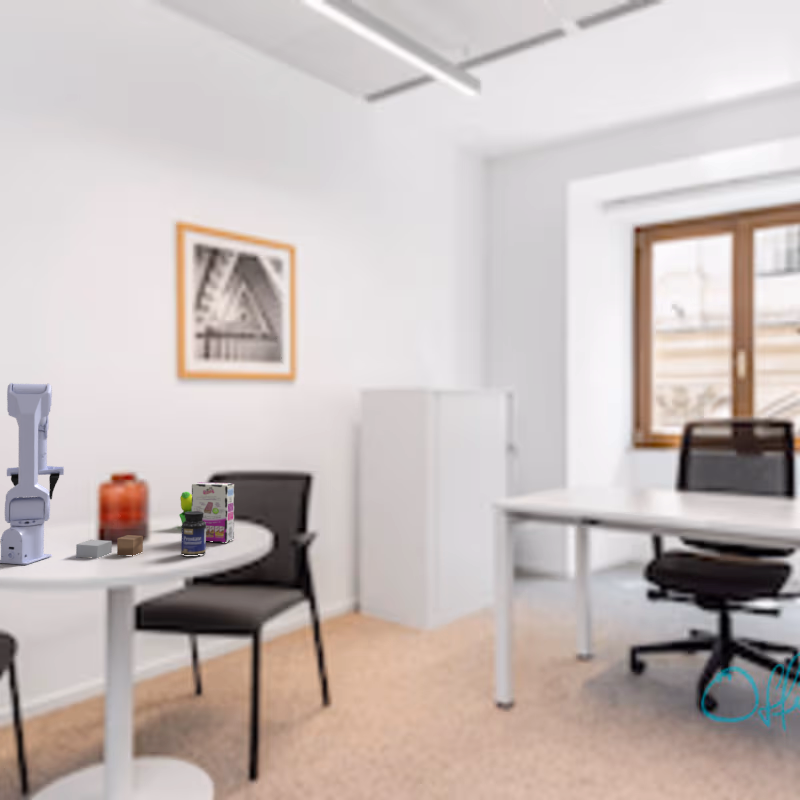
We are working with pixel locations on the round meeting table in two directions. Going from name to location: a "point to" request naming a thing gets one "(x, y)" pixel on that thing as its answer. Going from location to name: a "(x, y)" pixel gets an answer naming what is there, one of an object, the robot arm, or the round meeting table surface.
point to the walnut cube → (129, 545)
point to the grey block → (93, 548)
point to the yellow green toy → (185, 504)
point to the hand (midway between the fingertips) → (35, 499)
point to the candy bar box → (215, 509)
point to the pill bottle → (193, 534)
